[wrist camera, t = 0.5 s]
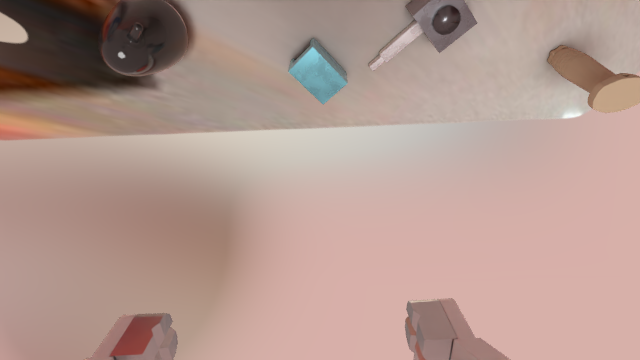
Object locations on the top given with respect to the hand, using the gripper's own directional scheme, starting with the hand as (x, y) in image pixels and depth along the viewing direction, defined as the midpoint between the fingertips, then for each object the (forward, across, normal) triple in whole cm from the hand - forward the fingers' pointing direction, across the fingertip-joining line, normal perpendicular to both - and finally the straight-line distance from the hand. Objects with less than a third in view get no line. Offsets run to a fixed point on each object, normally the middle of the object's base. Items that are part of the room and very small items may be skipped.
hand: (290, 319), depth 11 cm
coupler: (+48, -17, -9) cm, 51 cm away
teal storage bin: (+50, -2, -4) cm, 50 cm away
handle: (+48, -42, -5) cm, 64 cm away
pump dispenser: (+49, +22, -12) cm, 55 cm away
